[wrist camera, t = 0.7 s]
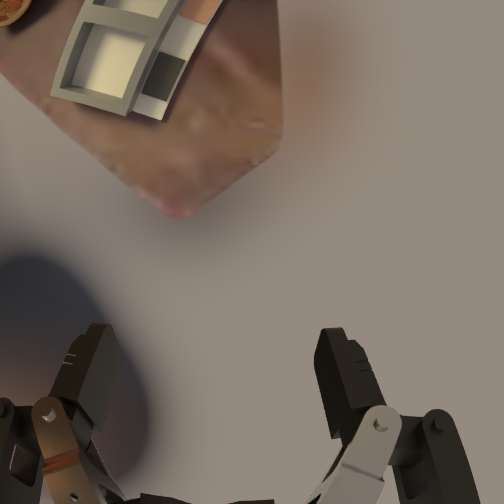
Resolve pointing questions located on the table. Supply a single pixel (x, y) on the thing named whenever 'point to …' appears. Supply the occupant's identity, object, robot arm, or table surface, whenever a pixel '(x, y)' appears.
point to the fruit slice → (12, 10)
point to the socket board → (130, 53)
